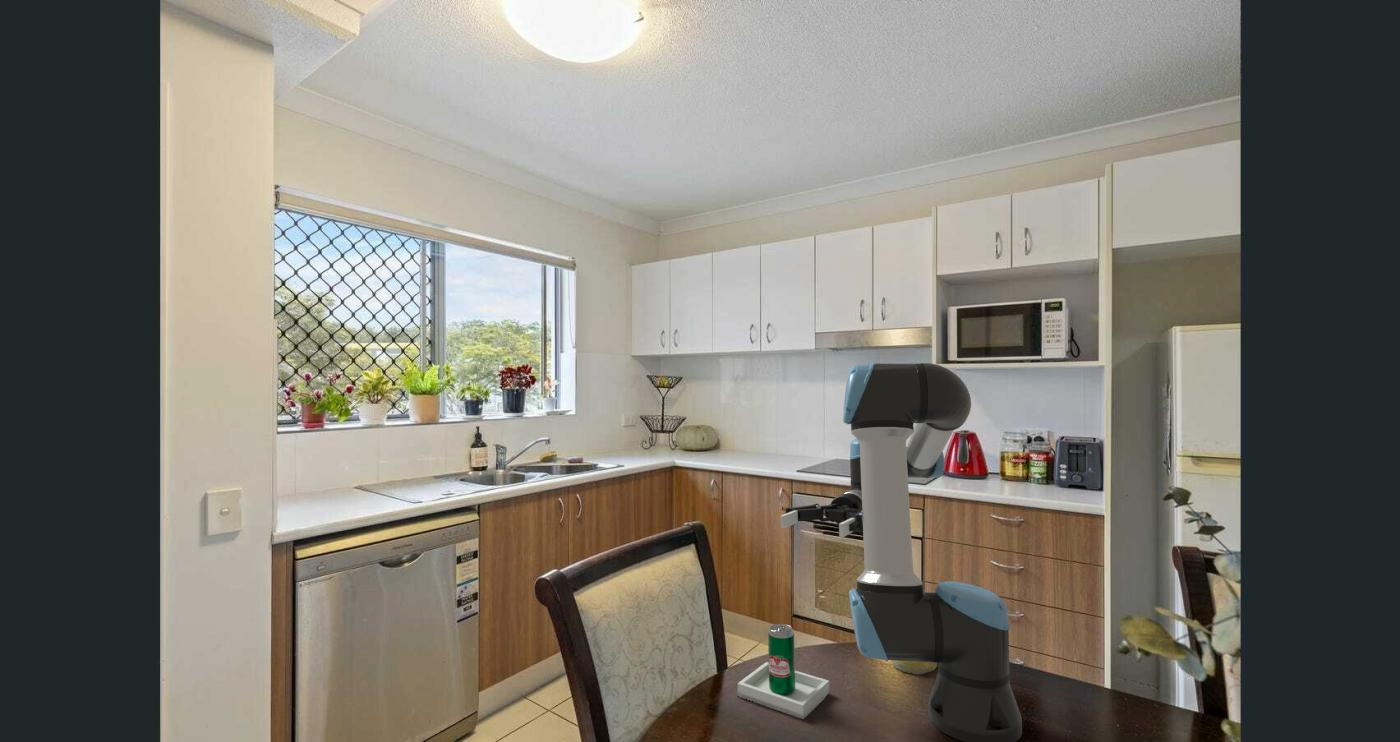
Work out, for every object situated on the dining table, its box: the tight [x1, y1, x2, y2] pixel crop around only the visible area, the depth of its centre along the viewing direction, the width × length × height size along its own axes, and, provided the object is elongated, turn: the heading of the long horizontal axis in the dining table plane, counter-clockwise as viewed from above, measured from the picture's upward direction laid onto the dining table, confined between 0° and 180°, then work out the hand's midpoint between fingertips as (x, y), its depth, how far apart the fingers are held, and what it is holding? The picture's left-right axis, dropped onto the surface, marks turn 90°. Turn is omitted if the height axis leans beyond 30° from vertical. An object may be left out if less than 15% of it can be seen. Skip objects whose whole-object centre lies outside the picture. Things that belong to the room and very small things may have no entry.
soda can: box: [767, 623, 796, 696], centre depth 119 cm, size 5×5×12 cm
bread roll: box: [890, 660, 938, 675], centre depth 130 cm, size 8×9×4 cm
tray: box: [737, 661, 830, 720], centre depth 119 cm, size 14×11×2 cm
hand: (810, 526), depth 129 cm, fingers open, 13 cm apart
